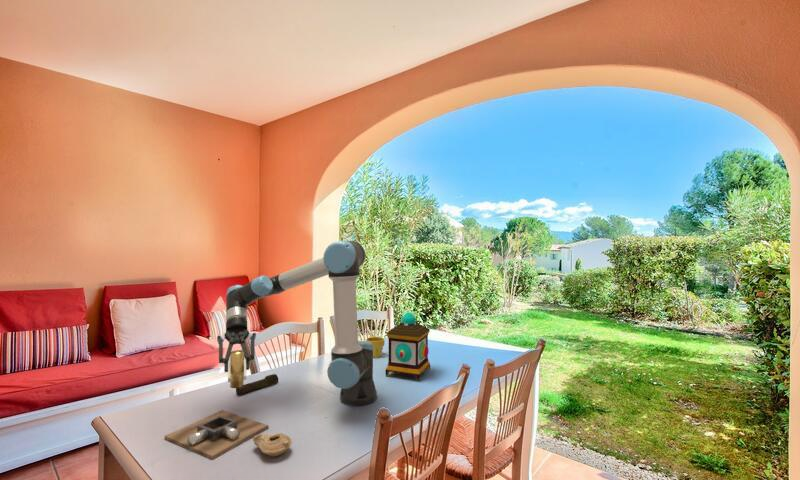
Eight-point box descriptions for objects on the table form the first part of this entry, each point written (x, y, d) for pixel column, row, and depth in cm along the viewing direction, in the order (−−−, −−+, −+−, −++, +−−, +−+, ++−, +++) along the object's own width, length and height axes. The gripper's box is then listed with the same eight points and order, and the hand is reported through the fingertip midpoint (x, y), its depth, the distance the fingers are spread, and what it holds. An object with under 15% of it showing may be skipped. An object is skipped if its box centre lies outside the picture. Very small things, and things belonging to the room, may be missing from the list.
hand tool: (239, 397, 153) (239, 386, 153) (235, 394, 156) (235, 383, 156) (281, 384, 167) (281, 374, 167) (276, 382, 169) (276, 372, 169)
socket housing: (247, 433, 121) (247, 424, 121) (209, 454, 109) (209, 443, 109) (220, 424, 127) (220, 415, 127) (182, 442, 116) (182, 432, 116)
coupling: (246, 384, 132) (246, 351, 132) (235, 389, 128) (235, 354, 128) (238, 382, 134) (238, 349, 134) (227, 386, 131) (227, 352, 131)
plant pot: (383, 359, 204) (383, 341, 204) (365, 358, 204) (365, 341, 204) (384, 353, 214) (384, 336, 214) (367, 353, 215) (367, 336, 215)
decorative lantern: (381, 377, 176) (381, 314, 177) (397, 364, 195) (397, 307, 195) (421, 383, 169) (421, 317, 169) (433, 370, 187) (434, 310, 187)
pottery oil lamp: (263, 439, 119) (275, 418, 120) (287, 463, 113) (299, 441, 114) (243, 442, 111) (255, 420, 112) (267, 468, 105) (280, 444, 106)
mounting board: (268, 428, 127) (268, 425, 127) (212, 459, 108) (212, 456, 108) (222, 412, 138) (222, 410, 138) (164, 439, 119) (164, 435, 119)
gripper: (260, 325, 149) (263, 380, 134) (211, 328, 141) (209, 387, 127) (261, 314, 144) (264, 370, 129) (211, 317, 137) (208, 377, 122)
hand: (237, 379), depth 128 cm, fingers closed on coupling, 4 cm apart
